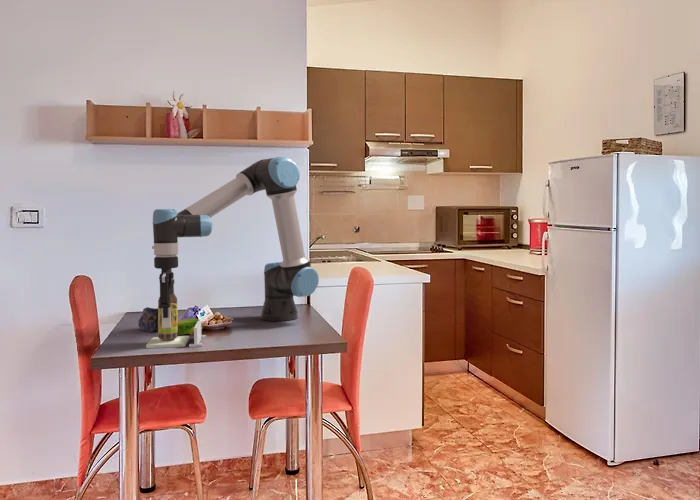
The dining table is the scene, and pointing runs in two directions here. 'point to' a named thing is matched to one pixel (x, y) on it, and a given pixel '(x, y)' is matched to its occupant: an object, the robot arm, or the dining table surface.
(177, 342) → the pad
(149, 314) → the rock
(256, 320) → the dining table surface
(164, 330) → the sauce bottle
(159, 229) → the robot arm
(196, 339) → the divider
